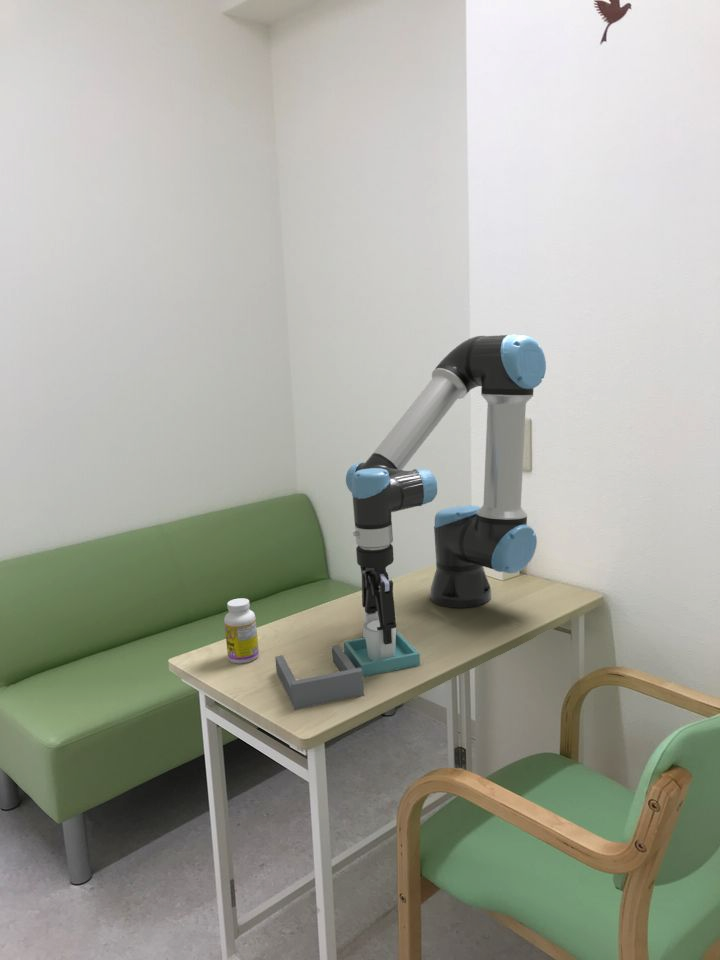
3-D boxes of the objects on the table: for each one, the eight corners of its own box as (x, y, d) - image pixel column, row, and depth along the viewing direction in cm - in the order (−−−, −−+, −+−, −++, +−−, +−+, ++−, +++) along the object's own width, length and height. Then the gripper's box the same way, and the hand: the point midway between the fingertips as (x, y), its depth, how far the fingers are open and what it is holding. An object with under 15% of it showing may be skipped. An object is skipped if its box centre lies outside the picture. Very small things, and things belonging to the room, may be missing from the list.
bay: (276, 672, 158) (274, 649, 157) (339, 660, 162) (338, 637, 161) (294, 709, 142) (292, 684, 141) (364, 695, 146) (362, 670, 145)
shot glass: (371, 646, 166) (370, 616, 164) (402, 650, 163) (400, 619, 161) (360, 661, 159) (358, 629, 158) (391, 665, 157) (390, 633, 155)
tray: (398, 641, 169) (398, 631, 168) (420, 664, 157) (419, 653, 156) (343, 652, 165) (343, 641, 165) (361, 676, 153) (361, 665, 153)
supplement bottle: (225, 655, 168) (219, 599, 165) (255, 649, 170) (249, 594, 167) (231, 667, 161) (225, 609, 159) (262, 660, 164) (256, 604, 161)
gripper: (342, 535, 164) (349, 635, 169) (372, 561, 145) (379, 672, 150) (375, 530, 166) (381, 629, 171) (409, 555, 148) (415, 665, 152)
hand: (380, 649), depth 161 cm, fingers open, 7 cm apart
